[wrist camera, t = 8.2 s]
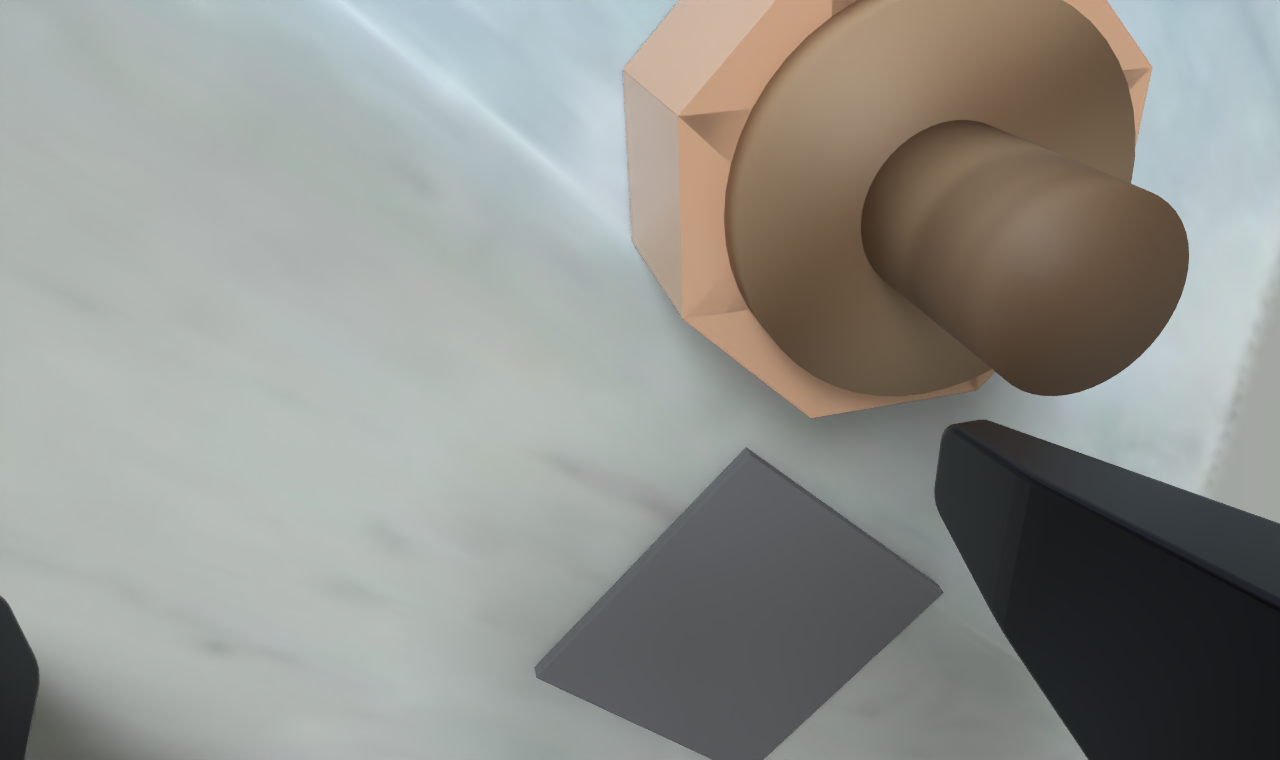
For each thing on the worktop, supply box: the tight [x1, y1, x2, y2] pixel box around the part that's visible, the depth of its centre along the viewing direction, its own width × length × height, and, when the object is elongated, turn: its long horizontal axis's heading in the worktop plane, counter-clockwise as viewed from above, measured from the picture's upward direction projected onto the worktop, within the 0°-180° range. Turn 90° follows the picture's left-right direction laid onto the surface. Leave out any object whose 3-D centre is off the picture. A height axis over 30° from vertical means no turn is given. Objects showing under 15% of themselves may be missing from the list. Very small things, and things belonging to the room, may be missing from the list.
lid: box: [724, 0, 1189, 396], centre depth 15 cm, size 8×8×5 cm
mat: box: [535, 448, 943, 760], centre depth 28 cm, size 9×9×1 cm
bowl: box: [623, 0, 1152, 418], centre depth 19 cm, size 9×9×4 cm
